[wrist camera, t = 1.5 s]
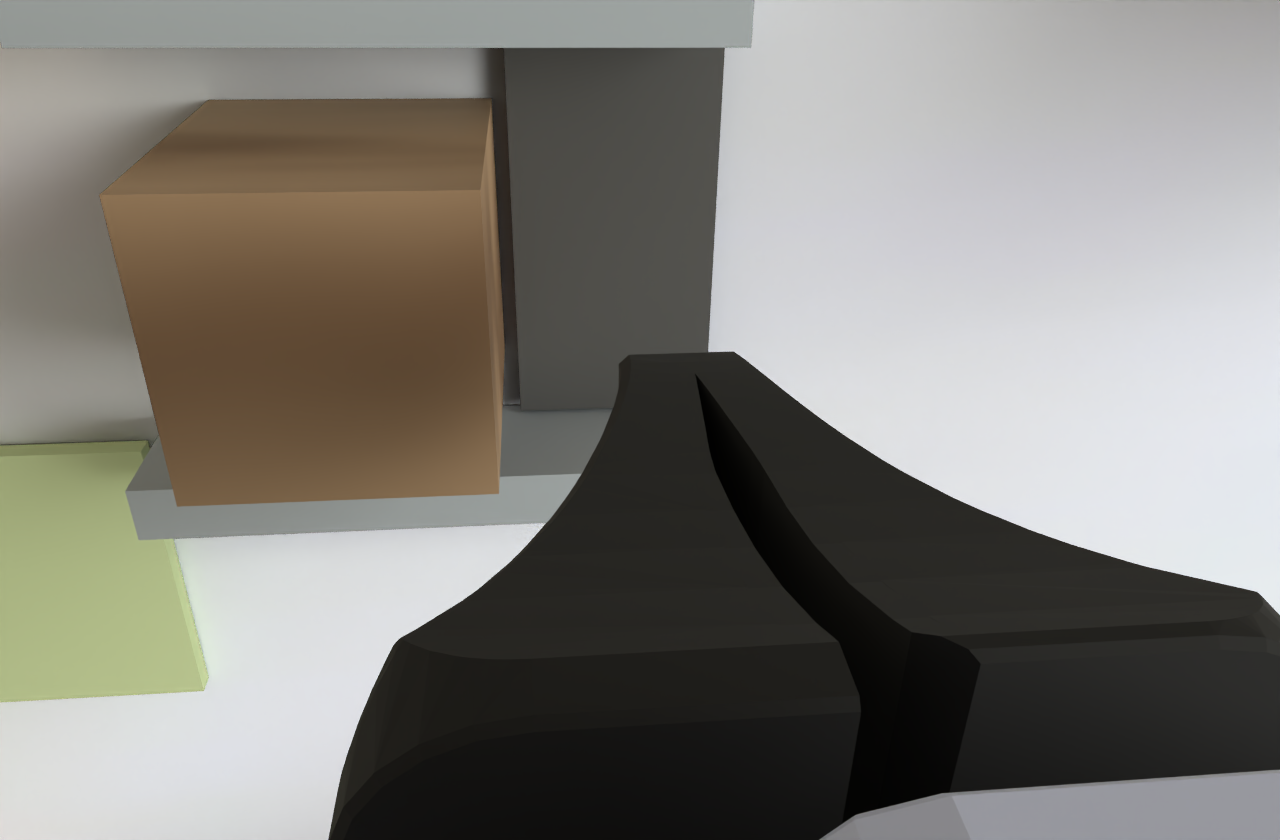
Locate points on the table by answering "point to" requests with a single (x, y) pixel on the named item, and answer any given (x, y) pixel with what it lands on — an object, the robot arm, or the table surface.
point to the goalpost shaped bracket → (540, 204)
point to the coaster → (87, 581)
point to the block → (318, 298)
